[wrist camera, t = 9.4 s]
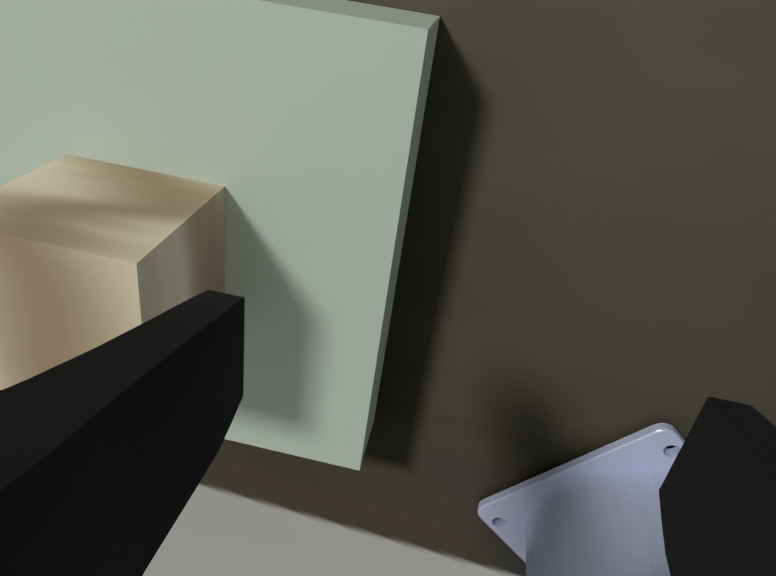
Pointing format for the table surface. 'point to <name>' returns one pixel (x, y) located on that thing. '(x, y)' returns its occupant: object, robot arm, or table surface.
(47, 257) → the maple block
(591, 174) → the table surface
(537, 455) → the table surface
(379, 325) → the base board
